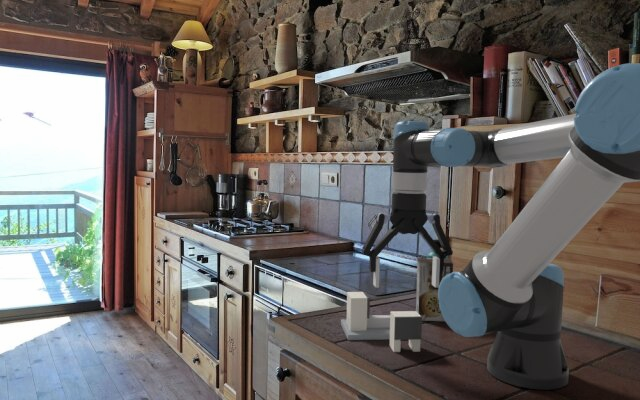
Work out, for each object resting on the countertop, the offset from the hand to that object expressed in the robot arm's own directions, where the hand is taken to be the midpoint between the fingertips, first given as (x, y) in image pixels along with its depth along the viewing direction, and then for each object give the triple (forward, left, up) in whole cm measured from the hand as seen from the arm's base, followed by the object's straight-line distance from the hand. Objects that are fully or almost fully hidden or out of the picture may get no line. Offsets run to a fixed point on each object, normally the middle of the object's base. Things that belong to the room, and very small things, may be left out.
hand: (405, 286), depth 113 cm
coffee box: (+22, -14, -15) cm, 30 cm away
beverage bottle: (+32, -18, -15) cm, 39 cm away
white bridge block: (0, 0, -14) cm, 14 cm away
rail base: (+12, +4, -14) cm, 19 cm away
